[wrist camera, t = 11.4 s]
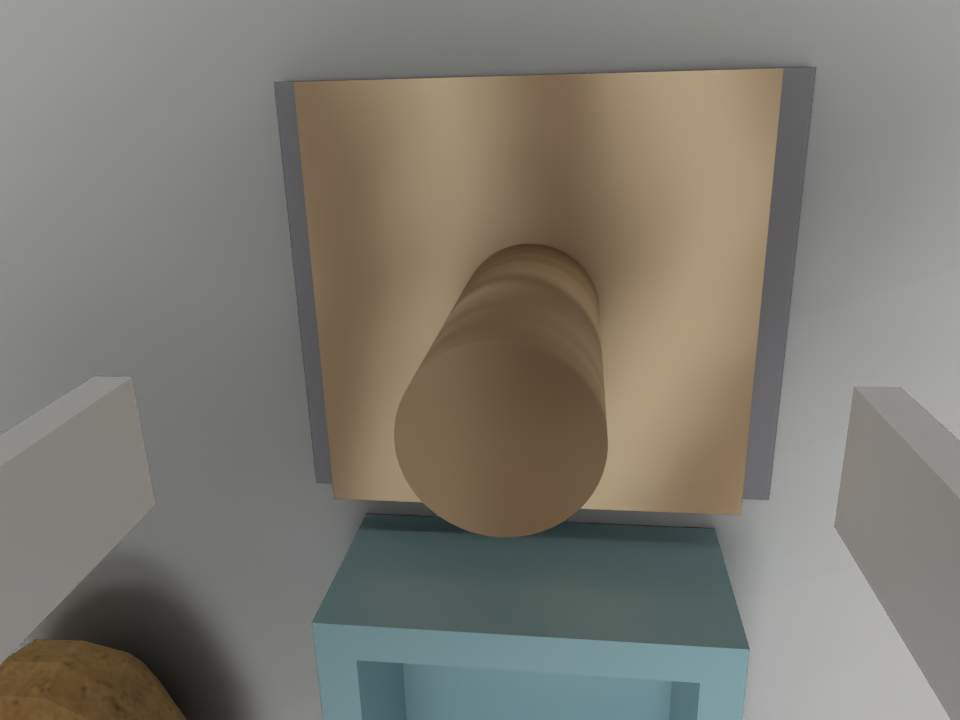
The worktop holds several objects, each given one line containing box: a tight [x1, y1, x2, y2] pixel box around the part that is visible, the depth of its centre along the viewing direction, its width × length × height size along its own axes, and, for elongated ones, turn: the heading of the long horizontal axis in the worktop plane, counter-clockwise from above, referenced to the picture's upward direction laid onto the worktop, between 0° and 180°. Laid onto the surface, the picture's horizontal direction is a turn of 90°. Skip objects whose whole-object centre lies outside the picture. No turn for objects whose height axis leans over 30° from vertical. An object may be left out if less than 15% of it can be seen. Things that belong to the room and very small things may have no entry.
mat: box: [274, 67, 816, 500], centre depth 24 cm, size 15×13×1 cm
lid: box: [294, 68, 784, 537], centre depth 19 cm, size 13×13×10 cm
